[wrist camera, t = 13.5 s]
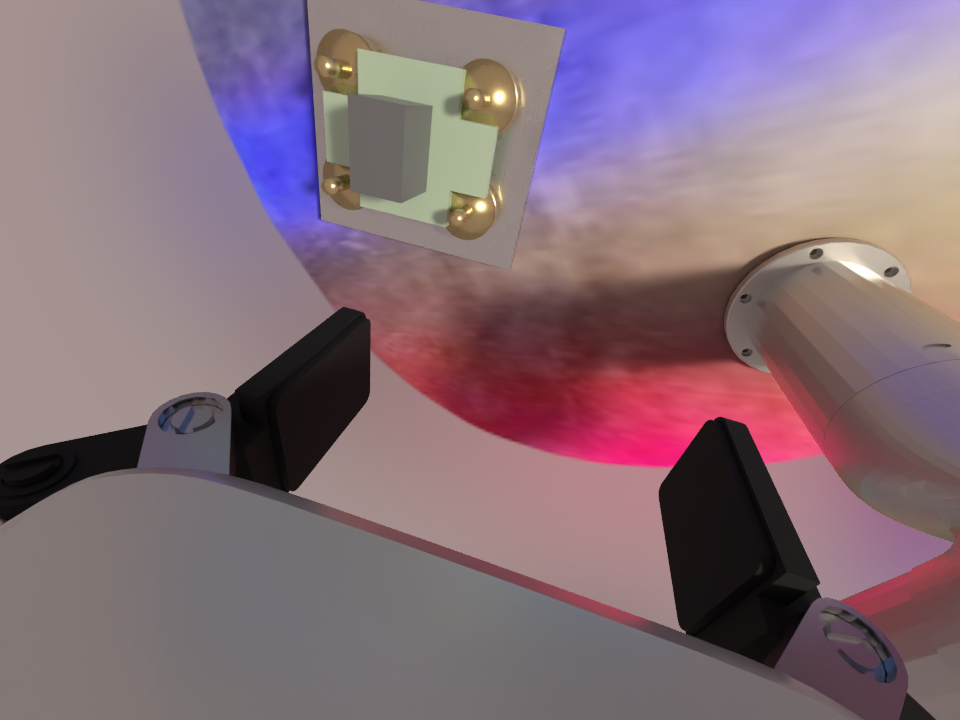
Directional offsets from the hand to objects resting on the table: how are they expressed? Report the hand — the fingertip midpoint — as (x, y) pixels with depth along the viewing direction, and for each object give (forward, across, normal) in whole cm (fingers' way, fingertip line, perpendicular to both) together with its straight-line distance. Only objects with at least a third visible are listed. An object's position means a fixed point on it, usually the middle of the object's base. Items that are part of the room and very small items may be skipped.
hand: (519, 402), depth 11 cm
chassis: (+28, +14, -2) cm, 32 cm away
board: (+25, +14, -2) cm, 28 cm away
